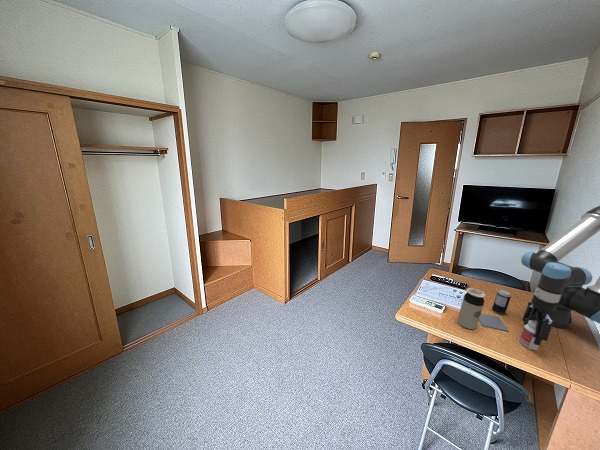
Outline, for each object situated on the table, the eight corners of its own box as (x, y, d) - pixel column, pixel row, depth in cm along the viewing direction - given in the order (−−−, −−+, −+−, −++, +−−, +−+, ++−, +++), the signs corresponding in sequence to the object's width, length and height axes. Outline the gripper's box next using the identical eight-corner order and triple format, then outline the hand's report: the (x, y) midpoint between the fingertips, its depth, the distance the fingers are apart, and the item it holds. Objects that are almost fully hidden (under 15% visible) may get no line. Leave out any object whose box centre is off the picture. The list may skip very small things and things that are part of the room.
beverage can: (507, 315, 128) (514, 295, 125) (495, 313, 129) (501, 294, 126) (501, 309, 133) (507, 290, 130) (489, 307, 134) (495, 288, 131)
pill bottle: (536, 351, 104) (545, 330, 101) (517, 343, 109) (525, 322, 106) (537, 344, 109) (546, 324, 105) (519, 337, 113) (527, 316, 110)
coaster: (498, 317, 126) (498, 316, 126) (508, 331, 116) (509, 330, 116) (474, 312, 129) (474, 311, 129) (482, 326, 119) (482, 325, 119)
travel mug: (453, 318, 124) (462, 287, 119) (469, 319, 123) (479, 288, 118) (463, 329, 116) (472, 296, 111) (480, 330, 116) (490, 297, 111)
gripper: (522, 285, 112) (507, 327, 118) (549, 309, 94) (530, 357, 101) (542, 288, 110) (526, 331, 116) (573, 314, 92) (552, 362, 99)
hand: (528, 343), depth 109 cm, fingers closed on pill bottle, 6 cm apart
